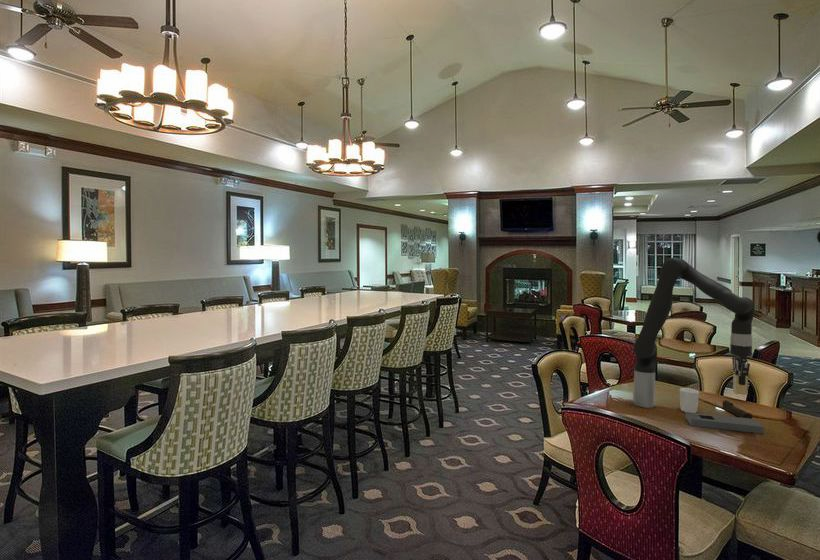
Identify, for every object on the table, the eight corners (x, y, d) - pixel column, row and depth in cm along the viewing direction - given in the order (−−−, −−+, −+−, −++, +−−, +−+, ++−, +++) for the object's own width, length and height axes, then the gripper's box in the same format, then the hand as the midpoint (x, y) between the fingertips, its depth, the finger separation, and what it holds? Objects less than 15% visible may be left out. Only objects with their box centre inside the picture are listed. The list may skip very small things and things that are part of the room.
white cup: (700, 410, 215) (700, 390, 214) (696, 414, 209) (697, 393, 208) (681, 407, 220) (681, 387, 220) (677, 410, 214) (677, 390, 214)
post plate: (690, 425, 194) (691, 419, 194) (685, 418, 204) (685, 411, 203) (763, 433, 185) (763, 426, 185) (754, 425, 195) (754, 419, 194)
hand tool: (752, 422, 200) (753, 411, 200) (743, 421, 200) (743, 411, 200) (729, 408, 219) (729, 399, 218) (720, 408, 219) (720, 399, 219)
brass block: (736, 393, 191) (736, 375, 190) (732, 391, 194) (733, 373, 194) (747, 394, 189) (747, 376, 189) (743, 392, 193) (744, 374, 193)
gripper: (725, 340, 199) (724, 378, 200) (736, 346, 186) (735, 386, 186) (745, 341, 196) (744, 380, 197) (758, 347, 183) (757, 388, 184)
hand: (740, 383), depth 192 cm, fingers closed on brass block, 4 cm apart
